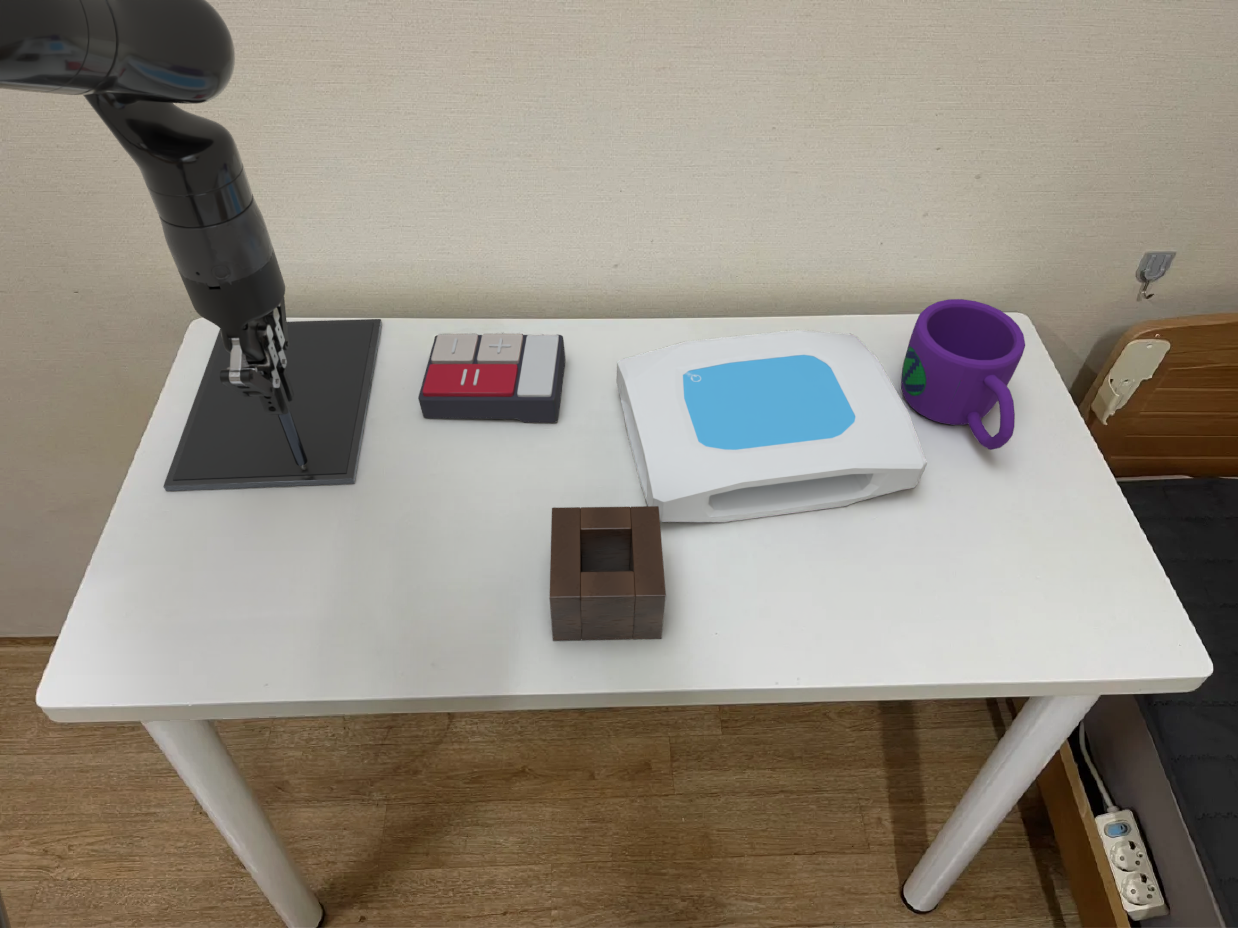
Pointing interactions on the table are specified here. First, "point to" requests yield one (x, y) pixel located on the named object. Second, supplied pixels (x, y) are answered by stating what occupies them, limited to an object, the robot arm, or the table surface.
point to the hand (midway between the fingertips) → (280, 405)
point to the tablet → (255, 441)
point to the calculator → (494, 377)
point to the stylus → (293, 439)
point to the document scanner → (765, 426)
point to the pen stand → (606, 573)
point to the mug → (963, 366)
